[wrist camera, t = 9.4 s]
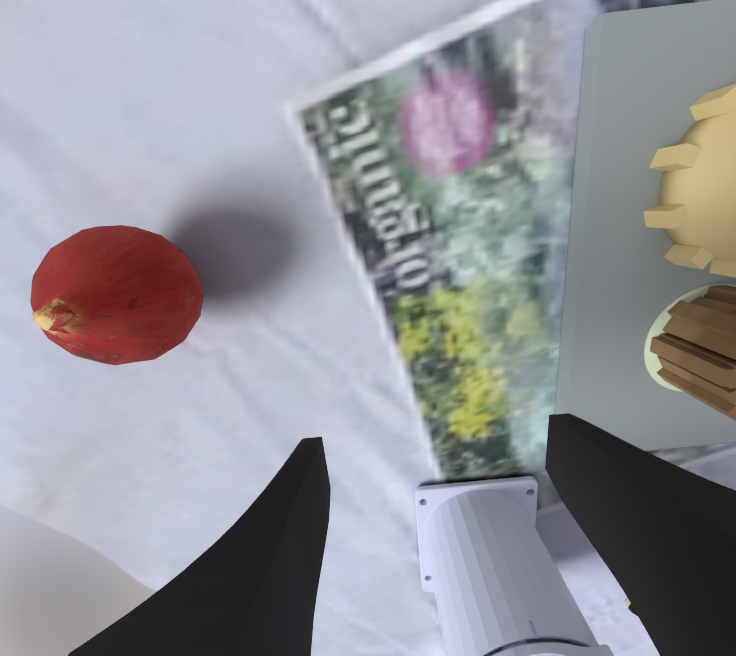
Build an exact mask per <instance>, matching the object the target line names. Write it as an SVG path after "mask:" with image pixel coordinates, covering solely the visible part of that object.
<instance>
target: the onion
mask: <svg viewBox="0 0 736 656" xmlns="http://www.w3.org/2000/svg"><path fill="white" fill-rule="evenodd" d="M202 302H203V292H202V288H201V284H200V280H199V277H198V273H197V271H196V270H195V268H194V266H193V265H192V263H191V262H190V260H189V259H188V257H187V256H186V254H185V253H184V252H183V251H182V250H180V249H179V248H178V247H176V246H175V245H174V244H172V243H171V242H169V241H168V240H167V239H165V238H164V237H163V236H161V235H159V234H155V233H152V232H149V231H146V230H143V229H140V228H136V227H130V226H122V225H120V226H102V227H93V228H89V229H85V230H81V231H80V232H78V233H76V234H74V235H73V236H71V237H69V238H68V239H66V240H64V241H62V242H61V243H59V244H57V245H56V246H54V247H52V248H51V249H50V250H49V252H48V253H47V254H46V256H45V257H44V259H43V260H42V262H41V264H40V265H39V267H38V269H37V270H36V272H35V274H34V276H33V280H32V290H31V306H32V309H33V313H32V315H33V319H34V321H35V322H36V323H37V324H38V325H39V326H40V328H41V329H42V330H43V332H44V333H45V335H46V336H47V337H48V339H50V340H51V341H53V342H54V343H56V344H57V345H59V346H60V347H62V348H63V349H65V350H66V351H68V352H70V353H71V354H73V355H75V356H78V357H81V358H85V359H89V360H93V361H97V362H101V363H105V364H111V365H120V364H126V363H132V362H139V361H146V360H153V359H156V358H157V357H159V356H161V355H163V354H164V353H166V352H167V351H169V350H171V349H172V348H174V347H175V346H177V345H178V344H180V343H182V342H183V341H184V340H185V339H186V337H187V336H188V334H189V333H190V331H191V329H192V328H193V326H194V325H195V323H196V322H197V320H198V319H199V317H200V314H201V308H202Z"/></svg>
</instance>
